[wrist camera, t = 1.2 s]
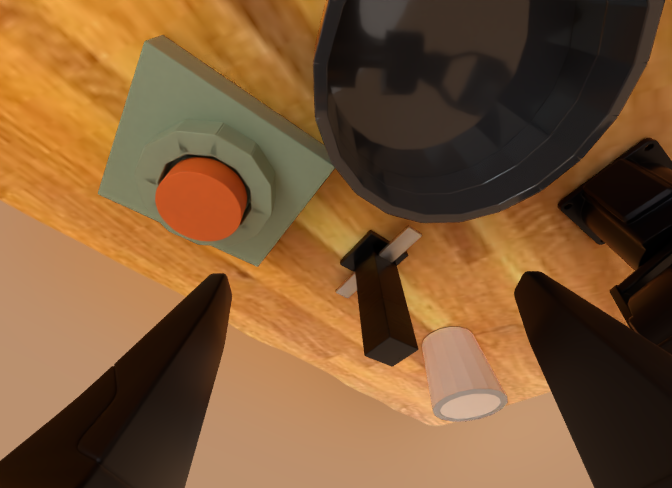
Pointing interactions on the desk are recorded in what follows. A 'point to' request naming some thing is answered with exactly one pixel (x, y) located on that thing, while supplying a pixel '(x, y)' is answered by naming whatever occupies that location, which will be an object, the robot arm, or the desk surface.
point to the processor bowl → (471, 95)
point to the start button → (202, 199)
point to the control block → (211, 147)
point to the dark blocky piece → (381, 295)
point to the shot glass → (460, 376)
